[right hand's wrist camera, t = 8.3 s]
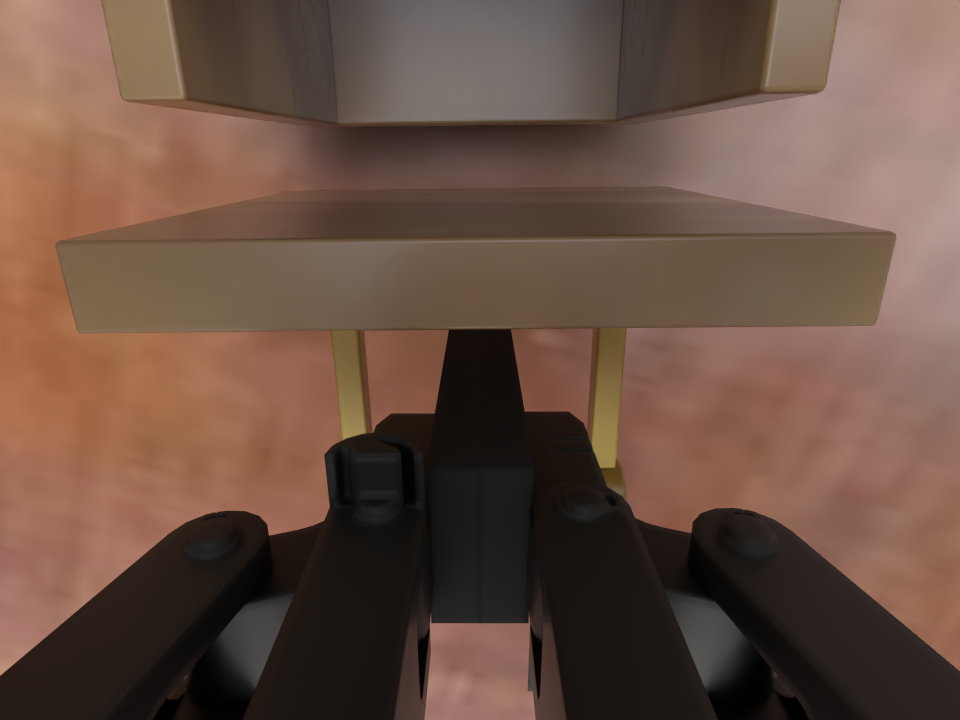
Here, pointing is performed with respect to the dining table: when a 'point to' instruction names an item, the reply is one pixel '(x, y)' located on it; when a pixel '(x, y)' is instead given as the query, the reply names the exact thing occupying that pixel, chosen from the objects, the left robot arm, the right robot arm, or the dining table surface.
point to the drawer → (474, 212)
